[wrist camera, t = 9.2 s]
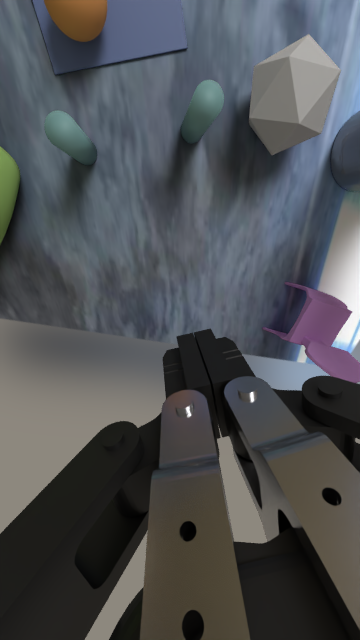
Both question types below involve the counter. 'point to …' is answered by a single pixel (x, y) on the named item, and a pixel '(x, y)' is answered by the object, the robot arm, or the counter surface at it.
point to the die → (292, 95)
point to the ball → (78, 17)
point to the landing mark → (117, 34)
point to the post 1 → (70, 137)
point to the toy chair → (322, 334)
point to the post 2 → (202, 110)
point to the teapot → (7, 189)
